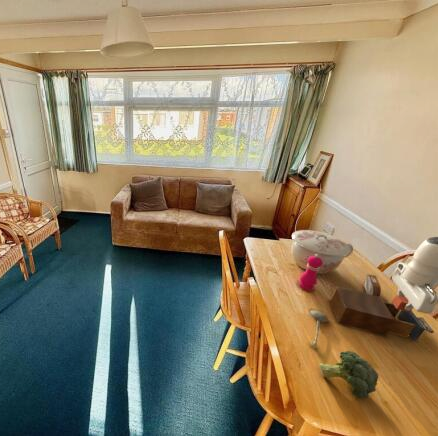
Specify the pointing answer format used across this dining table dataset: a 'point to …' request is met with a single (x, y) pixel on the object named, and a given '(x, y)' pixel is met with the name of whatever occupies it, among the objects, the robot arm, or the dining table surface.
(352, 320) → the cabinet
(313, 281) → the pepper mill
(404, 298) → the block
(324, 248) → the chamber pot
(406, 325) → the drawer
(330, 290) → the dining table surface
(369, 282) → the tin
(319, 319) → the soupspoon
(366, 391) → the vegetable
